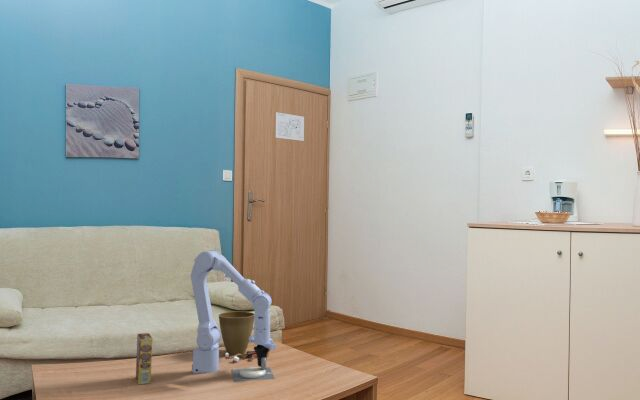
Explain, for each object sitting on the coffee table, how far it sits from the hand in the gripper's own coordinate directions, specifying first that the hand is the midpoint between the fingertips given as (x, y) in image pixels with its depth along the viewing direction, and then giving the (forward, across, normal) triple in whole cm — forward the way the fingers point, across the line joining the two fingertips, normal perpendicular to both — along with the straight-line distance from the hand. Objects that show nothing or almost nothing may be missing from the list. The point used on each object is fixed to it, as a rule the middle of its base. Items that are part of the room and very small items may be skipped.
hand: (262, 366), depth 181 cm
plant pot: (+3, +31, -7) cm, 32 cm away
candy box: (+3, +20, +35) cm, 41 cm away
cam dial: (+2, 0, +4) cm, 5 cm away
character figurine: (+4, +19, -6) cm, 20 cm away
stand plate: (+3, 0, +4) cm, 5 cm away
